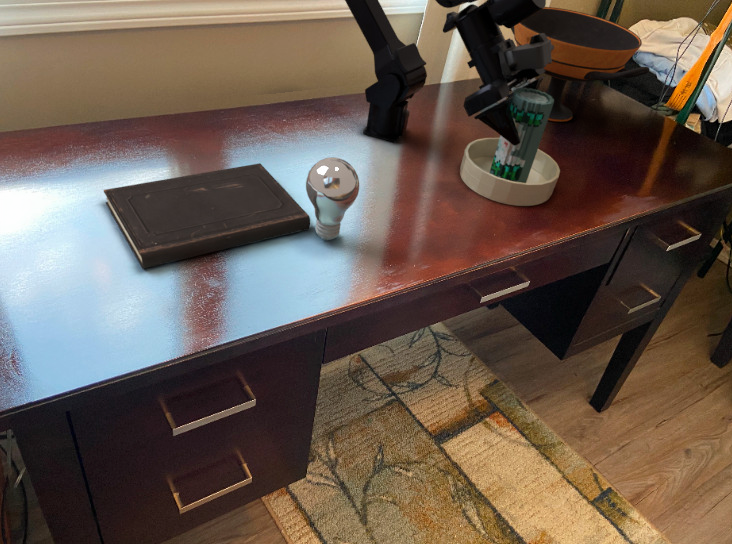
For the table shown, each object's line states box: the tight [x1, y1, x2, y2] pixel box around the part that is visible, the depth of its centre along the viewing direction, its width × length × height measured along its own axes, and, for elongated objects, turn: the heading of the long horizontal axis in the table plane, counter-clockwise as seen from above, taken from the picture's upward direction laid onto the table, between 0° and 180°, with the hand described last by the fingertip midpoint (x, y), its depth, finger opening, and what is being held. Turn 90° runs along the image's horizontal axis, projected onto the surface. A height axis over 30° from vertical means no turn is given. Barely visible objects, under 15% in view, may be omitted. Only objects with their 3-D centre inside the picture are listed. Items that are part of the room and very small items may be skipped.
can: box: [489, 88, 554, 183], centre depth 99 cm, size 6×6×15 cm
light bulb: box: [305, 156, 360, 241], centre depth 80 cm, size 7×7×12 cm
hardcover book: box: [103, 163, 311, 269], centre depth 83 cm, size 16×23×2 cm
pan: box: [459, 137, 561, 207], centre depth 103 cm, size 16×16×4 cm
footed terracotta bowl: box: [510, 6, 651, 122], centre depth 126 cm, size 36×26×18 cm
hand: (528, 135), depth 98 cm, fingers open, 9 cm apart
